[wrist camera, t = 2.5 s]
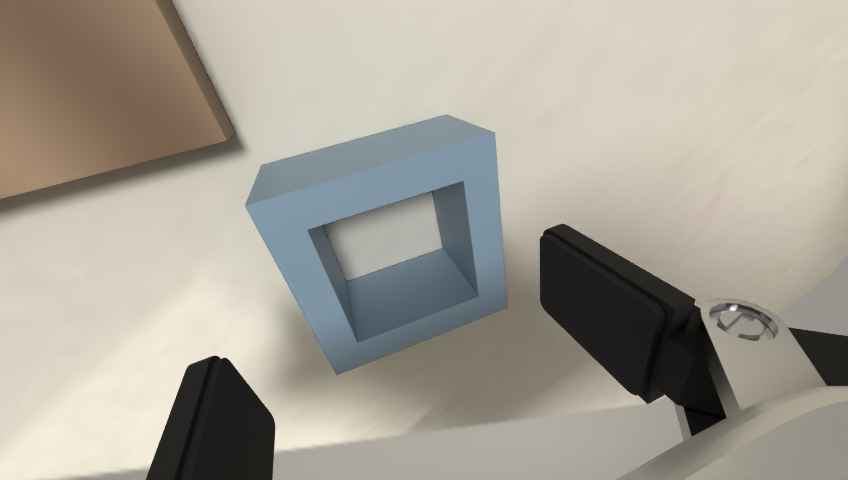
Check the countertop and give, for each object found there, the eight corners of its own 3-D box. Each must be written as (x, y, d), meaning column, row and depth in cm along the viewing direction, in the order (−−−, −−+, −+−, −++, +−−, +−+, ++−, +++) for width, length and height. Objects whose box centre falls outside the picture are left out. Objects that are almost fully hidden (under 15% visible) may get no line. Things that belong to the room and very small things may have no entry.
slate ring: (446, 114, 13) (494, 132, 10) (467, 259, 17) (507, 307, 14) (261, 165, 12) (245, 205, 9) (329, 309, 16) (336, 375, 12)
